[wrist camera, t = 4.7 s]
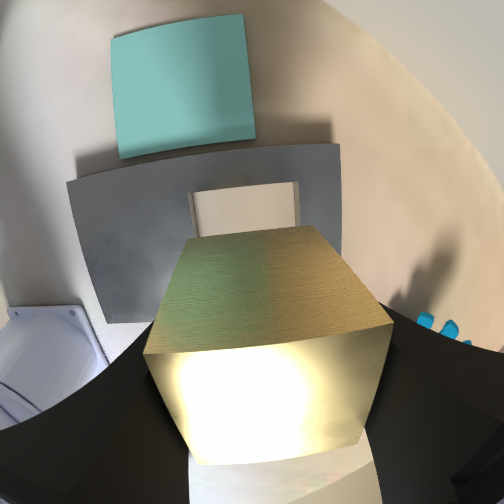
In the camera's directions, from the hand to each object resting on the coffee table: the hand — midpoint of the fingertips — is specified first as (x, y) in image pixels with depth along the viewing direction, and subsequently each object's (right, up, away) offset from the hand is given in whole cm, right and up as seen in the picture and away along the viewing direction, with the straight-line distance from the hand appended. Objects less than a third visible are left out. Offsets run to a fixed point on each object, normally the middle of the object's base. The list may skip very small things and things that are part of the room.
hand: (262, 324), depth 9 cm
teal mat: (-4, +12, +5) cm, 14 cm away
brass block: (0, +1, +2) cm, 2 cm away
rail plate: (-3, +3, +9) cm, 10 cm away
